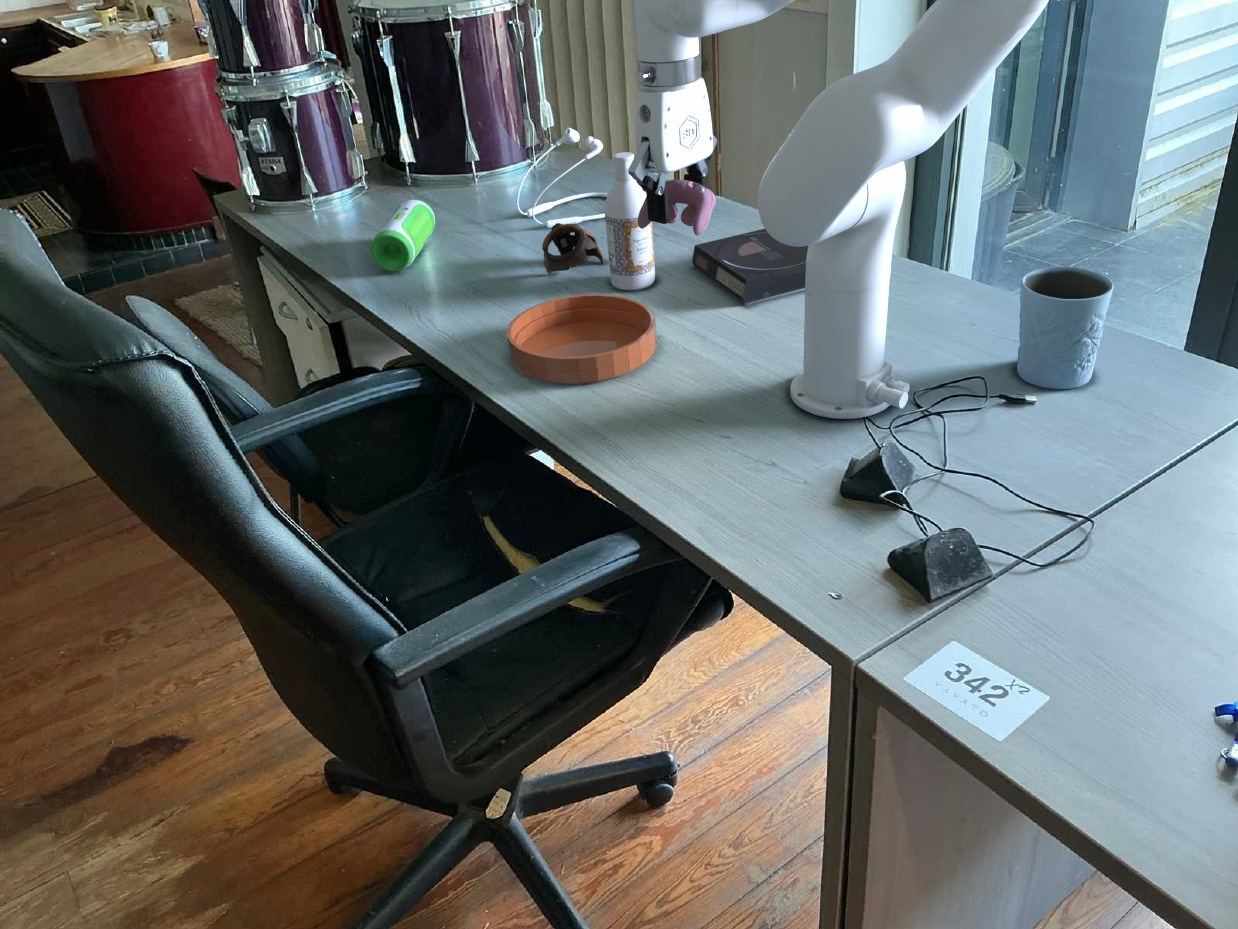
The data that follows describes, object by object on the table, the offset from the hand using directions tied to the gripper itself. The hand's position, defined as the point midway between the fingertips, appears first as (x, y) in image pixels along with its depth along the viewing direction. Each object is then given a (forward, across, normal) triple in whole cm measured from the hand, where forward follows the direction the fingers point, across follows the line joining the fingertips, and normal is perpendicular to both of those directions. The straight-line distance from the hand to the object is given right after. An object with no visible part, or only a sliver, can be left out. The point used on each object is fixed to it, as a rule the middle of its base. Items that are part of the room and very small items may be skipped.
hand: (677, 212), depth 137 cm
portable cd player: (+17, +22, +3) cm, 28 cm away
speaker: (+17, -5, +59) cm, 62 cm away
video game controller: (+2, 0, 0) cm, 2 cm away
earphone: (+17, +26, +50) cm, 59 cm away
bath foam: (+17, +9, +18) cm, 26 cm away
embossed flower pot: (+18, +18, -45) cm, 52 cm away
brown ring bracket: (+17, +8, +31) cm, 36 cm away
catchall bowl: (+17, -13, +8) cm, 23 cm away
